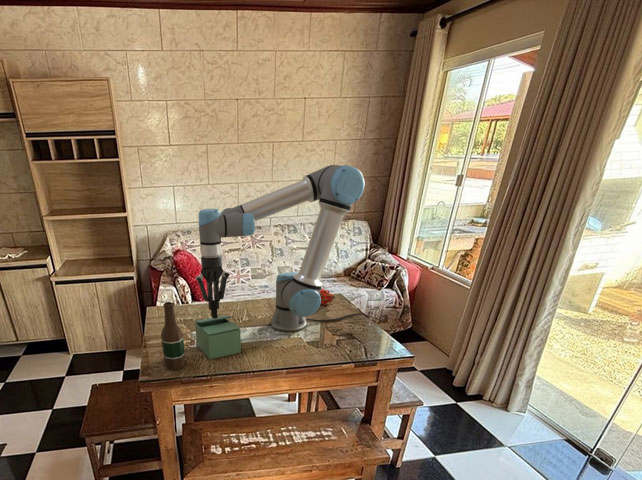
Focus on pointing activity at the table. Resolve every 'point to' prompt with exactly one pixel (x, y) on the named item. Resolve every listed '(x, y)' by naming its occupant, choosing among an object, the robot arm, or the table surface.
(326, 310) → the table surface
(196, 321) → the flap
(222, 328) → the container
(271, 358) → the table surface
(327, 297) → the dragon fruit
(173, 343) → the beer bottle
